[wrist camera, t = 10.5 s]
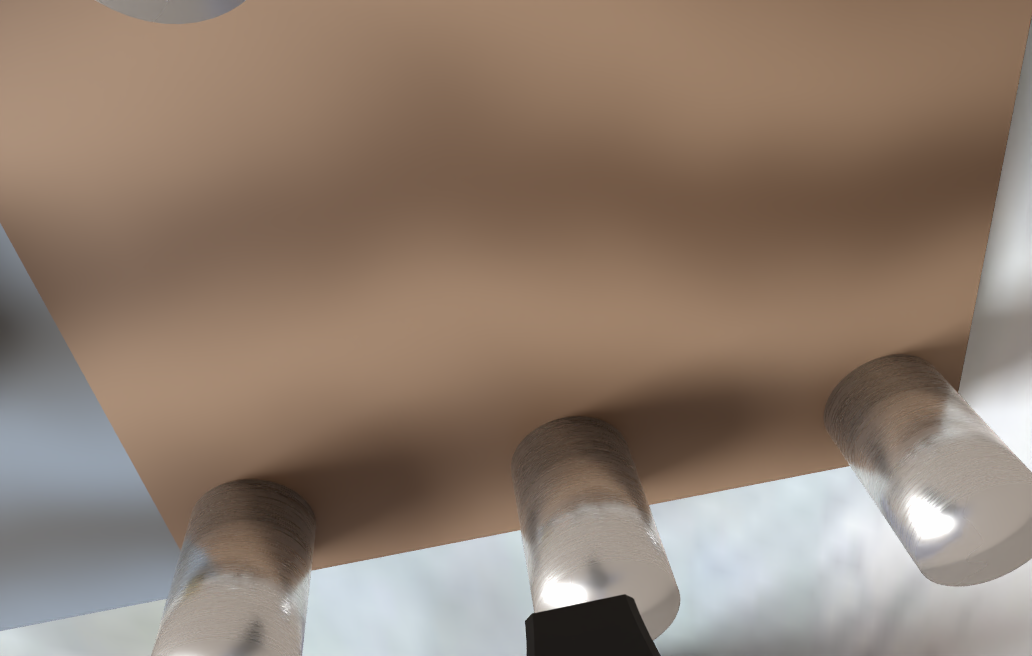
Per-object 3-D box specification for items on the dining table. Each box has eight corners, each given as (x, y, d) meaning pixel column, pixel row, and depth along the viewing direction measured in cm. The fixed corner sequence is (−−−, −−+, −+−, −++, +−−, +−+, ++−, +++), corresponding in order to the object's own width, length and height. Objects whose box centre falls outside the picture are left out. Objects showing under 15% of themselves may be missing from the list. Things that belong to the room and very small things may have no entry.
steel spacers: (931, 436, 22) (1043, 571, 18) (215, 575, 21) (176, 742, 18) (1085, -418, 12) (1386, -509, 9) (-193, -197, 12) (-463, -190, 8)
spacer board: (931, 427, 23) (947, 446, 22) (-163, 639, 22) (-180, 665, 21) (1087, -456, 13) (1126, -470, 12) (-899, -113, 12) (-973, -107, 11)
